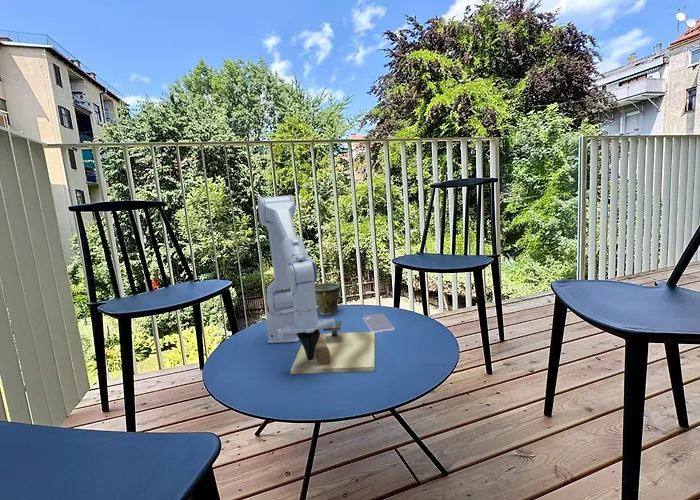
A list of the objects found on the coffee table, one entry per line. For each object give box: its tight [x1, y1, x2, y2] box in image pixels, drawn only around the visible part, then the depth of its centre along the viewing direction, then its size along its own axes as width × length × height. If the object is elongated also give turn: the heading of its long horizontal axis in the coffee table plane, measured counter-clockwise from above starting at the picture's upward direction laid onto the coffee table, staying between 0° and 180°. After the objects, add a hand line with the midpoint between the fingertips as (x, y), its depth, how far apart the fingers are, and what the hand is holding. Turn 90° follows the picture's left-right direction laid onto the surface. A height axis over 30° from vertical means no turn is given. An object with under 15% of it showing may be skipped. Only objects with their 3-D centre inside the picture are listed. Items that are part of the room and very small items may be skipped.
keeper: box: [322, 319, 343, 337], centre depth 110 cm, size 10×6×5 cm, turn 86°
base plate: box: [290, 331, 376, 375], centre depth 103 cm, size 21×22×1 cm
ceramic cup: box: [315, 282, 341, 317], centre depth 134 cm, size 13×10×10 cm
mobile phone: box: [362, 313, 395, 334], centre depth 123 cm, size 8×1×15 cm
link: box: [314, 330, 331, 365], centre depth 102 cm, size 18×4×3 cm, turn 16°
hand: (310, 358), depth 95 cm, fingers closed
